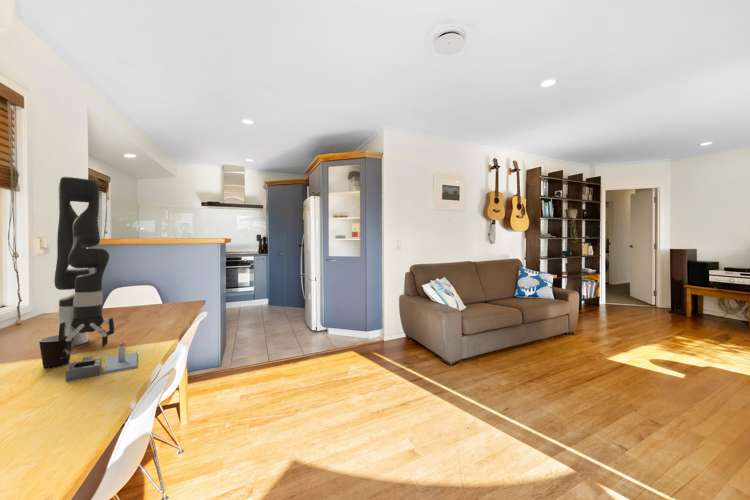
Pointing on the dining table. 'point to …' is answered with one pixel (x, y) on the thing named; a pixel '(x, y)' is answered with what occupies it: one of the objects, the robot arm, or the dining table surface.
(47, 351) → the coffee mug
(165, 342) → the dining table surface
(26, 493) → the dining table surface
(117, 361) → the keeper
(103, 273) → the robot arm
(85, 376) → the end link
